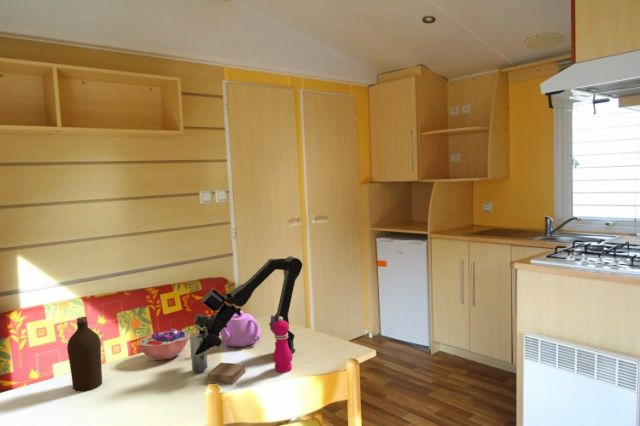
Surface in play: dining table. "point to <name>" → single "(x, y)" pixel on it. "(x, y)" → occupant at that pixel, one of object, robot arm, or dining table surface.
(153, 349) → the cell model
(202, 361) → the tea tin
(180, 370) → the dining table surface
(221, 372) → the walnut box
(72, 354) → the olive oil
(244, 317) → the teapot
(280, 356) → the pepper mill
